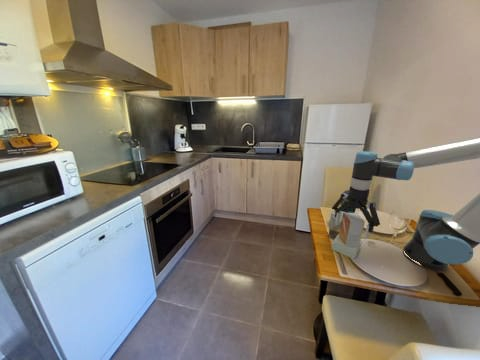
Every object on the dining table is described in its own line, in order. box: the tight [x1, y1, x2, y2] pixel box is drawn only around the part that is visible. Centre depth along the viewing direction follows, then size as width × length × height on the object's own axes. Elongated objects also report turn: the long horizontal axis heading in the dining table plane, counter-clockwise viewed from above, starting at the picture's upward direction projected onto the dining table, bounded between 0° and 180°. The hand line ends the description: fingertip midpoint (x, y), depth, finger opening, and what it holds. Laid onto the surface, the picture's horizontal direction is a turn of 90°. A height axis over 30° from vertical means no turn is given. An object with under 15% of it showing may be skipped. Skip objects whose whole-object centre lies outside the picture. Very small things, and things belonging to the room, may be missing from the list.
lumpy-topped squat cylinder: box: [329, 210, 346, 228], centre depth 113 cm, size 10×13×9 cm
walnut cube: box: [327, 225, 340, 240], centre depth 105 cm, size 5×5×5 cm
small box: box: [339, 212, 366, 246], centre depth 92 cm, size 8×6×13 cm
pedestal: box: [331, 234, 363, 260], centre depth 95 cm, size 10×10×5 cm
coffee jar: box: [340, 189, 357, 213], centre depth 120 cm, size 10×8×19 cm
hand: (350, 230), depth 92 cm, fingers open, 13 cm apart
